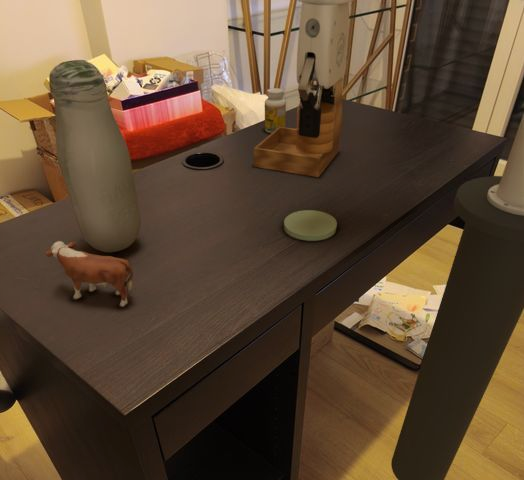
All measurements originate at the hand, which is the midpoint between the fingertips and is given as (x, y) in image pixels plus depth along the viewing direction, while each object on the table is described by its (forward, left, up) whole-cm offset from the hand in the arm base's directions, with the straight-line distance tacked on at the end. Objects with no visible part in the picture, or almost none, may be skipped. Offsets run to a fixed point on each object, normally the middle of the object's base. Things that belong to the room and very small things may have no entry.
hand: (316, 128), depth 75 cm
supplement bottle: (+25, -45, -17) cm, 54 cm away
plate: (0, 0, -17) cm, 17 cm away
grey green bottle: (+29, +19, -17) cm, 39 cm away
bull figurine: (+23, +32, -18) cm, 43 cm away
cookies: (0, 0, -3) cm, 3 cm away
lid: (+6, -29, -5) cm, 30 cm away
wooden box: (+13, -29, -17) cm, 36 cm away
